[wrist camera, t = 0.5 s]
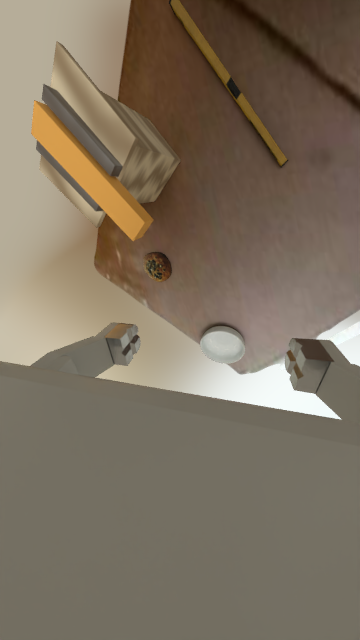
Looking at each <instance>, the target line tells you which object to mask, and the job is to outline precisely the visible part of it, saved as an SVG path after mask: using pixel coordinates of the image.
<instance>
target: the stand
mask: <svg viewBox="0 0 360 640" xmlns="http://www.w3.org/2000/svg"><path fill="white" fill-rule="evenodd" d="M42 100H43V101H44V102H45V103H46V104H47V106H48V107H49V108H50V109H51V110H52V111H53V112H54V113H55V115H56V116H57V117H58V118H59V119H60V120H61V121H62V122H63V123H64V125H65V126H66V127H67V128H68V129H69V130H70V131H71V132H72V134H73V135H74V136H75V137H76V138H77V139H78V140H79V141H80V143H81V144H82V145H83V146H84V147H85V148H86V149H87V150H88V152H89V153H90V154H91V155H92V156H93V157H94V158H95V159H96V160H97V162H98V163H99V164H100V165H101V166H102V167H103V168H104V169H105V171H106V172H107V173H108V174H109V175H110V176H115V177H116V178H117V179H118V180H119V181H120V182H121V184H122V185H123V186H124V187H125V188H126V189H127V190H128V191H129V193H130V194H131V195H132V196H133V197H134V198H135V199H136V200H137V202H138V203H139V204H141V203H148V202H154V201H155V200H156V199H157V197H158V196H159V194H160V193H161V191H162V189H163V188H164V186H165V185H166V183H167V181H168V180H169V178H170V177H171V175H172V173H173V172H174V170H175V169H176V167H177V166H178V164H179V162H180V161H181V160H180V159H179V157H178V156H177V155H176V153H175V152H174V151H173V150H172V148H171V147H170V146H169V144H168V143H167V142H166V141H165V139H164V138H163V137H162V135H161V134H160V133H159V132H158V130H157V129H156V128H155V126H154V125H153V124H152V123H151V121H150V120H149V119H147V118H146V117H144V116H142V115H140V114H139V113H137V112H135V111H134V110H132V109H130V108H129V107H127V106H125V105H124V104H122V103H120V102H118V101H117V100H115V99H113V98H112V97H110V96H108V95H107V94H105V93H103V92H102V91H100V90H99V89H98V88H97V87H96V85H95V84H94V83H93V82H92V80H91V79H90V78H89V77H88V75H87V74H86V73H85V72H84V71H83V69H82V68H81V67H80V66H79V64H78V63H77V62H76V61H75V59H74V58H73V57H72V56H71V55H70V53H69V52H68V51H67V50H66V48H65V47H64V46H63V45H62V44H60V43H59V42H56V50H55V57H54V64H53V71H52V79H51V87H49V86H47V85H45V84H44V85H43V95H42ZM36 149H37V151H38V152H39V153H40V154H41V161H40V171H41V172H42V173H43V174H44V175H45V176H46V177H47V178H48V179H49V180H50V181H51V182H52V183H53V184H54V185H55V186H56V187H57V188H58V189H59V190H60V191H61V192H62V193H63V194H64V195H65V196H66V197H67V198H68V199H69V200H70V201H71V202H72V203H73V204H74V205H75V206H76V207H77V208H78V209H79V210H80V211H81V212H82V213H83V214H84V215H85V216H86V218H87V219H88V220H89V221H90V222H91V223H92V224H93V225H94V226H95V227H100V225H101V223H102V221H103V219H104V216H105V214H106V212H105V211H104V210H103V209H102V208H101V207H100V206H99V205H98V204H97V203H96V202H95V201H94V200H93V199H92V197H91V196H90V195H89V194H88V193H87V192H86V191H85V190H84V189H83V188H82V187H81V186H80V185H79V184H78V183H77V182H76V181H75V179H74V178H73V177H72V176H71V175H70V174H69V173H68V172H67V171H66V170H65V169H64V168H63V167H62V166H61V165H60V164H59V163H58V161H57V160H56V159H55V158H54V157H53V156H52V155H51V154H50V153H49V152H48V151H47V150H46V149H45V148H44V147H43V146H42V145H41V144H40V142H39V141H38V140H37V147H36Z"/></svg>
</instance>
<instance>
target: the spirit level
mask: <svg viewBox="0 0 360 640" xmlns="http://www.w3.org/2000/svg"><path fill="white" fill-rule="evenodd" d="M169 4H170V6H171V8H172V10H173V12H174V14H175V15H177V17H178V18H179V20H180V21H181V23H182V24H183V26H184V27H185V28H186V30H187V31H188V33H189V34H190V36H191V37H192V39H193V40H194V41H195V43H196V44H197V46H198V47H199V49H200V50H201V52H202V53H203V54H204V56H205V57H206V59H207V60H208V62H209V63H210V65H211V66H212V67H213V69H214V70H215V72H216V73H217V75H218V76H219V78H220V79H221V80H222V82H223V83H224V85H225V86H226V88H227V89H228V91H229V92H230V93H231V95H232V96H233V98H234V99H235V101H236V102H237V104H238V105H239V106H240V108H241V109H242V111H243V112H244V114H245V115H246V117H247V118H248V119H249V121H250V122H251V124H252V125H253V127H254V128H255V130H256V131H257V132H258V134H259V135H260V137H261V138H262V140H263V141H264V143H265V144H266V145H267V147H268V148H269V150H270V151H271V153H272V154H273V156H274V157H275V158H276V160H277V161H278V163H279V164H280V166H281V167H282V166H283V165H284V164H285V163H286V162H287V161H288V160H287V159H286V157H285V156H284V154H283V153H282V151H281V150H280V148H279V147H278V145H277V144H276V143H275V141H274V140H273V138H272V137H271V135H270V134H269V132H268V131H267V129H266V128H265V126H264V125H263V123H262V122H261V120H260V119H259V117H258V116H257V115H256V113H255V112H254V110H253V109H252V107H251V106H250V104H249V103H248V101H247V100H246V98H245V97H244V95H243V94H242V92H240V90H239V89H238V88H237V86H236V85H235V83H234V82H233V80H232V78H231V76H230V75H229V73H228V72H227V70H226V69H225V67H224V66H223V64H222V63H221V61H220V60H219V58H218V57H217V56H216V54H215V53H214V51H213V50H212V48H211V47H210V45H209V44H208V42H207V41H206V39H205V38H204V36H203V35H202V33H201V32H200V30H199V29H198V28H197V26H196V25H195V23H194V22H193V20H192V19H191V17H190V16H189V14H188V13H187V11H186V10H185V8H184V7H183V5H182V4H181V2H180V1H179V0H170V1H169Z"/></svg>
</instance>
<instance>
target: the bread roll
mask: <svg viewBox="0 0 360 640" xmlns="http://www.w3.org/2000/svg"><path fill="white" fill-rule="evenodd" d="M143 263H144V264H143V265H144V270H145V272H146V273H147V274H148V275H149V276H150V278H151V279H153V280H154V281H157V282H162V281H165V280H166V279H168V278H169V277H170V275H171V265H170V262H169V260H168V258H167V257H166V256H165V255H164V254H162V253H159V252H153V253H149V254H147V255H146V256H145V257H144V261H143Z"/></svg>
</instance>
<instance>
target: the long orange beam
mask: <svg viewBox="0 0 360 640" xmlns="http://www.w3.org/2000/svg"><path fill="white" fill-rule="evenodd" d="M31 134H32V135H33V136H34V137H35V138H36V139H37V140H38V141H39V142H40V144H41V145H42V146H43V147H44V148H45V149H46V150H47V151H48V152H49V153H50V154H51V155H52V156H53V157H54V158H55V159H56V160H57V161H58V163H59V164H60V165H61V166H62V167H63V168H64V169H65V170H66V171H67V172H68V173H69V174H70V175H71V176H72V177H73V178H74V179H75V181H76V182H77V183H78V184H79V185H80V186H81V187H82V188H83V189H84V190H85V191H86V192H87V193H88V194H89V195H90V196H91V197H92V199H93V200H94V201H95V202H96V203H97V204H98V205H99V206H100V207H101V208H102V209H103V210H104V211H105V212H106V213H107V214H108V215H109V216H110V218H111V219H112V220H113V221H114V222H115V223H116V224H117V225H118V226H119V227H120V228H121V229H122V230H123V231H124V232H125V233H126V234H127V236H128V237H129V238H130V239H131V240H132V241H135V240H137V239H139V238H142V236H143V235H144V233H145V232H146V230H147V229H148V228H149V226H150V225H151V223H152V222H153V219H152V217H151V216H150V215H149V214H148V213H147V212H146V211H145V210H144V208H143V207H142V206H141V205H140V204H139V203H138V202H137V200H136V199H135V198H134V197H133V196H132V195H131V194H130V193H129V191H128V190H127V189H126V188H125V187H124V186H123V185H122V184H121V182H120V181H119V180H118V179H117V178H116V177H115V176H110V175H109V174H108V173H107V172H106V171H105V169H104V168H103V167H102V166H101V165H100V164H99V163H98V162H97V160H96V159H95V158H94V157H93V156H92V155H91V154H90V153H89V152H88V150H87V149H86V148H85V147H84V146H83V145H82V144H81V143H80V141H79V140H78V139H77V138H76V137H75V136H74V135H73V134H72V132H71V131H70V130H69V129H68V128H67V127H66V126H65V125H64V123H63V122H62V121H61V120H60V119H59V118H58V117H57V116H56V115H55V113H54V112H53V111H52V110H51V109H50V108H49V107H48V106H47V105H46V104H43V103H40V102H38V101H35V100H34V110H33V121H32V132H31Z"/></svg>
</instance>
